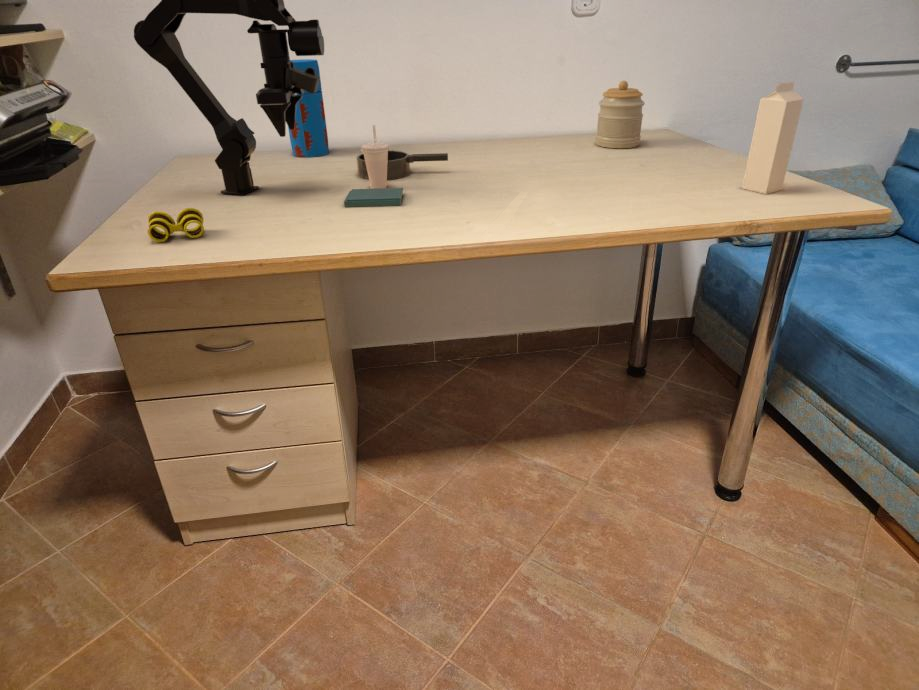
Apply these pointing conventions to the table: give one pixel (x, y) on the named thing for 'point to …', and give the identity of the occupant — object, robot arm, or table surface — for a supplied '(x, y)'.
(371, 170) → the smoothie
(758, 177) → the milk
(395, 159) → the pan
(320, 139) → the thermos
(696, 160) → the table surface
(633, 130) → the jar
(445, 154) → the pan handle
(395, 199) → the teal flat block
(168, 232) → the opera glasses
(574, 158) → the table surface
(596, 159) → the table surface
